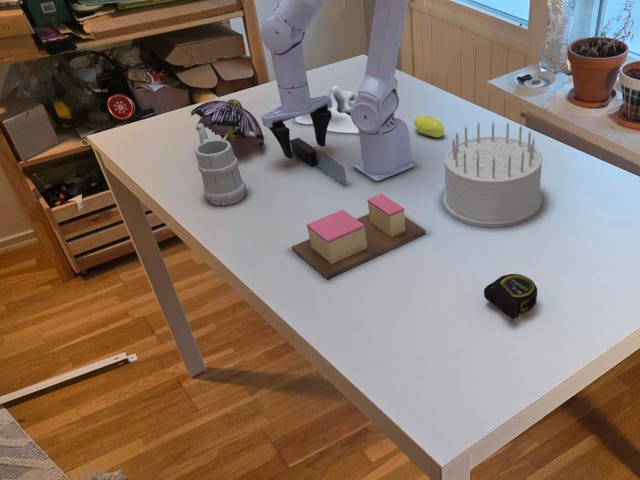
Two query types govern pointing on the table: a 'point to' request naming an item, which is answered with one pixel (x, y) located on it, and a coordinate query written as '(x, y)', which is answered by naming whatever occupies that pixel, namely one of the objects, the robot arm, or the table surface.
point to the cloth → (337, 112)
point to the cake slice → (386, 215)
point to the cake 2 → (492, 180)
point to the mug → (219, 170)
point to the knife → (318, 159)
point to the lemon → (429, 126)
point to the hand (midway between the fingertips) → (305, 151)
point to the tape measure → (512, 294)
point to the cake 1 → (337, 236)
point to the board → (375, 246)
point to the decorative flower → (228, 120)
